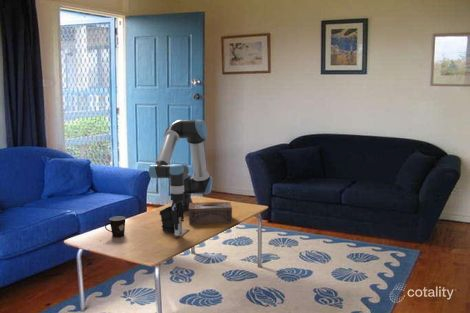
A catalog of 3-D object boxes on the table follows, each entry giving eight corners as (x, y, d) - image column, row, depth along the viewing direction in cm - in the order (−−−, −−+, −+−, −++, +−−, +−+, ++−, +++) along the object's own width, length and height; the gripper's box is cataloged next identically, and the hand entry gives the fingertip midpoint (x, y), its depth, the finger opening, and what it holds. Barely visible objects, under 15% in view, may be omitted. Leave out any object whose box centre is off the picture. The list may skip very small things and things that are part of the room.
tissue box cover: (189, 225, 286) (188, 208, 285) (189, 218, 301) (189, 202, 299) (232, 223, 288) (231, 207, 287) (230, 217, 302) (230, 201, 301)
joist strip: (185, 229, 276) (185, 229, 276) (189, 230, 275) (189, 229, 275) (174, 238, 261) (174, 237, 261) (178, 238, 260) (178, 238, 260)
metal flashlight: (176, 233, 265) (176, 216, 264) (182, 234, 264) (182, 216, 263) (174, 235, 262) (173, 217, 260) (180, 235, 261) (179, 218, 260)
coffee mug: (125, 232, 272) (124, 215, 271) (127, 237, 264) (126, 219, 263) (104, 235, 268) (103, 217, 267) (105, 239, 260) (104, 221, 259)
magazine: (174, 232, 266) (167, 206, 269) (163, 237, 276) (157, 212, 279) (180, 231, 268) (173, 205, 271) (169, 235, 278) (162, 211, 281)
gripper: (176, 189, 268) (177, 229, 272) (164, 195, 253) (166, 238, 256) (189, 189, 266) (190, 230, 270) (177, 196, 251) (179, 239, 254)
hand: (178, 234), depth 263 cm, fingers closed on metal flashlight, 3 cm apart
